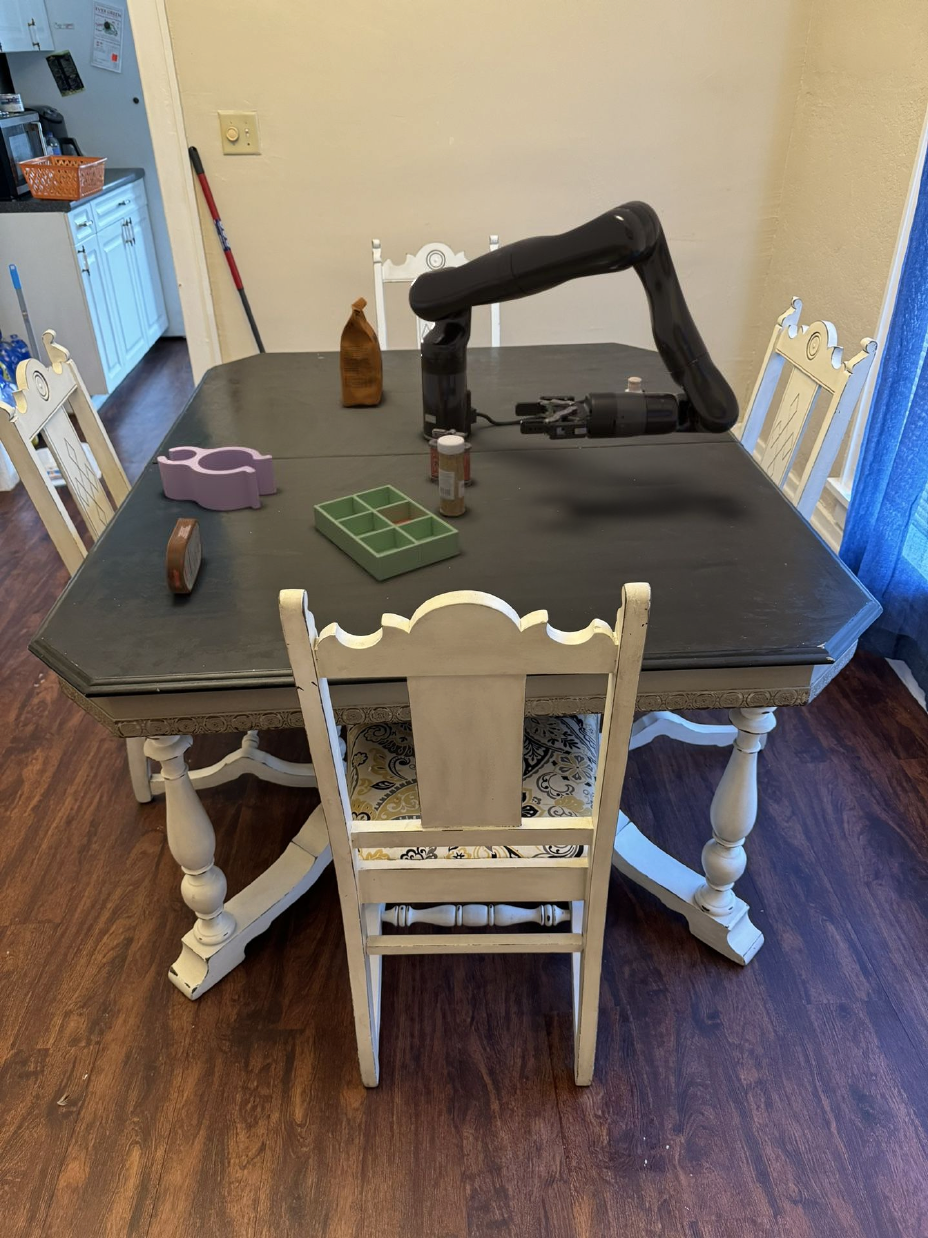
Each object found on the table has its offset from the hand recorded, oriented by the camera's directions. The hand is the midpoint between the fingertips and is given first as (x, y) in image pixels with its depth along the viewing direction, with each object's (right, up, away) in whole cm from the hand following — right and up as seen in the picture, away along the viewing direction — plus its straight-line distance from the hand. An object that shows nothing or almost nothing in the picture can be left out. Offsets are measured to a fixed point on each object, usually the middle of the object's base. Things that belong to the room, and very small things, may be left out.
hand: (517, 418), depth 144 cm
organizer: (-22, -20, 0) cm, 30 cm away
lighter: (-12, -8, +20) cm, 24 cm away
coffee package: (-32, +18, +59) cm, 69 cm away
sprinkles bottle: (-11, -15, +9) cm, 20 cm away
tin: (-51, -27, -10) cm, 59 cm away
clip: (-54, -10, +16) cm, 57 cm away
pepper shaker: (+26, +7, +41) cm, 50 cm away
